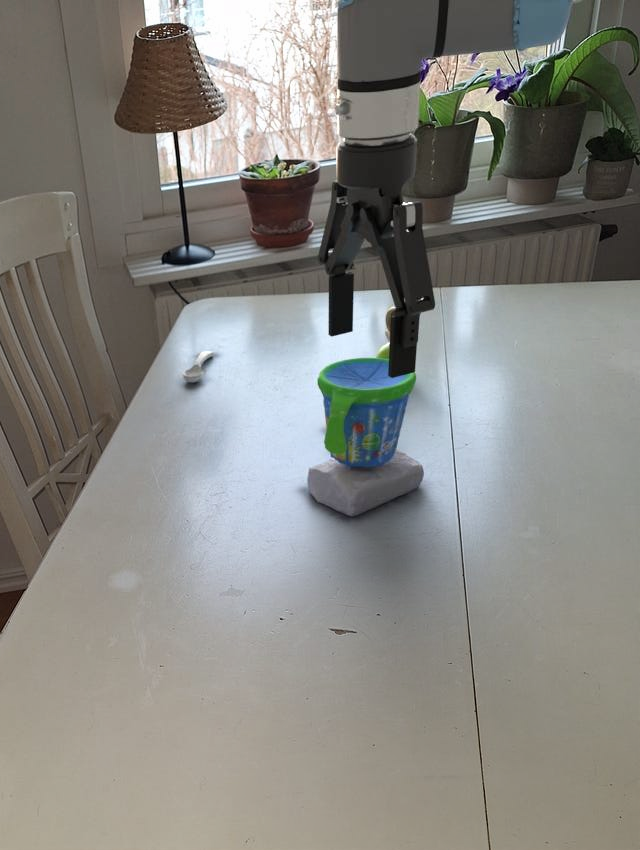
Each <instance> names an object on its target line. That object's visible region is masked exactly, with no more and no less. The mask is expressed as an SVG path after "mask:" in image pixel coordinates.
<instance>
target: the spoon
mask: <svg viewBox="0 0 640 850" xmlns="http://www.w3.org/2000/svg"><path fill="white" fill-rule="evenodd" d="M213 356H214V351H212V350H203V351H201V352H200V354H199V355H198V357H197V358H196V360H195V361H194V364H193V365H192V366H191V368H189V369H187V370H186V369H185V371H184V372H183V374H182V375H183V379H184V380H185V381H186V382H187V383H197V382H199V381H201V380H202V379H203V376H204V371H203V369H202V368H201V367H202V365H203V364H204V362H205V361H206V360H207V359H209V358H211V357H213Z"/></svg>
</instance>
